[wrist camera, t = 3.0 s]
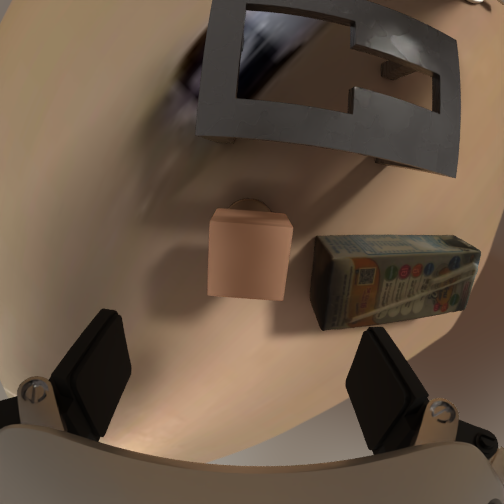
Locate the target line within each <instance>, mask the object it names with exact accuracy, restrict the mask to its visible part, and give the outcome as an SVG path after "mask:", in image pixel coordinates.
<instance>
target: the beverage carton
mask: <svg viewBox="0 0 504 504" xmlns="http://www.w3.org/2000/svg"><path fill="white" fill-rule="evenodd" d="M480 256H481V251H480V250H478V249H477V248H475V247H473V246H472V245H470V244H468V243H467V242H465V241H463V240H462V239H459V238H458V237H456V236H454V235H337V236H333V235H330V236H316V238H315V247H314V260H313V270H312V278H311V289H310V301H311V304H312V307H313V310H314V313H315V315H316V318H317V321H318V323H319V326H320V328H321V330H322V331H324V330H330V329H345V328H354V327H362V326H371V325H379V324H385V323H392V322H398V321H404V320H411V319H417V318H423V317H429V316H434V315H440V314H444V313H448V312H456V311H462V310H464V309H465V307H466V305H467V302H468V299H469V296H470V292H471V289H472V286H473V282H474V279H475V276H476V274H477V271H478V265H479V261H480Z"/></svg>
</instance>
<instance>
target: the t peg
mask: <svg viewBox="0 0 504 504" xmlns="http://www.w3.org/2000/svg"><path fill="white" fill-rule="evenodd" d="M292 234H293V226H292V225H291V223H290V221H289V219H288V218H287V216H286V214H283V213H272V212H271V211H270V210H269V208H268V207H267V206H266V205H265V204H264V203H262V202H261V201H258V200H255V199H242V200H239V201H237V202H235V203H234V204H232V205H231V206H230V207H229V209H221V208H217V209H216V211H215V213H214V215H213V216H212V218H211V220H210V227H209V253H208V295H210V296H221V297H234V298H247V299H262V300H279V301H283V297H284V290H285V284H286V277H287V270H288V263H289V256H290V249H291V241H292Z"/></svg>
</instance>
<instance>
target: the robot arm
mask: <svg viewBox="0 0 504 504" xmlns="http://www.w3.org/2000/svg"><path fill="white" fill-rule="evenodd" d="M467 1H469V2H471V3H480V2H483V1H484V0H467ZM497 1H499V2H500V3H501V4H502V5H504V0H497ZM130 375H131V363H130V358H129V354H128V349H127V344H126V339H125V334H124V328H123V322H122V317H121V315H118V313H117V311H115V310H109V309H101V310H100V312H99V313H98V314H97V315H96V316H95V318H94V319H93V320H92V321H91V323H90V324H89V325H88V326H87V328H86V329H85V330H84V332H83V333H82V334H81V335H80V337H79V338H78V339H77V341H76V342H75V343H74V344H73V346H72V347H71V348H70V350H69V351H68V352H67V354H66V355H65V356H64V358H63V359H62V360H61V362H60V363H59V365H58V366H57V367H56V369H55V370H54V372H53V373H52V374H51V377H50V379H49V380H47V379H46V378H44V377H39V376H35V377H30V378H27V379H26V380H24V381H23V382H22V383H21V384H20V385H19V388H18V390H17V396H16V397H13V398H9V399H5V400H2V401H0V504H504V448H503V447H502V446H501V447H500V448H498V442H497V439H496V437H495V435H494V434H492V433H491V432H490V431H488V430H485V429H482V428H480V427H476V426H474V425H471V424H469V423H466V422H464V421H461V420H459V412H458V409H457V408H456V406H455V405H454V404H453V403H452V402H450V401H448V400H446V399H443V398H435V399H433V400H431V401H430V402H429V400H428V398H427V397H428V396H429V395H428V393H427V391H426V390H425V388H424V387H423V385H422V383H421V382H420V380H419V379H418V377H417V376H416V374H415V373H414V371H413V370H412V368H411V367H410V365H409V364H408V362H407V361H406V359H405V358H404V356H403V355H402V353H401V352H400V350H399V349H398V347H397V346H396V344H395V343H394V342H393V340H392V339H391V337H390V336H389V334H388V333H387V332H386V330H385V329H384V328H383V327H369V328H368V329H367V331H364V332H363V335H362V338H361V341H360V344H359V346H358V349H357V352H356V355H355V358H354V360H353V363H352V366H351V368H350V371H349V373H348V376H347V378H346V389H347V392H348V394H349V397H350V400H351V402H352V405H353V408H354V410H355V413H356V416H357V418H358V421H359V424H360V427H361V429H362V432H363V435H364V438H365V441H366V443H367V446H368V449H369V450H372V451H373V454H374V455H372V456H366V457H361V458H355V459H349V460H343V461H336V462H327V463H318V464H308V465H293V466H231V465H217V464H206V463H197V462H188V461H181V460H175V459H168V458H163V457H157V456H152V455H147V454H143V453H138V452H134V451H130V450H126V449H122V448H118V447H114V446H110V445H107V444H103V443H100V442H98V441H99V439H100V437H104V436H105V434H106V431H107V429H108V426H109V424H110V421H111V419H112V417H113V414H114V412H115V409H116V407H117V405H118V402H119V400H120V398H121V396H122V393H123V391H124V389H125V386H126V384H127V382H128V380H129V377H130Z"/></svg>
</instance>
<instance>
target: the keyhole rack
mask: <svg viewBox="0 0 504 504" xmlns="http://www.w3.org/2000/svg"><path fill="white" fill-rule="evenodd" d="M246 10H250V11H264V12H274V13H283V14H290V15H297V16H303V17H309V18H314V19H319V20H324V21H329V22H333V23H337V24H342V25H346V26H349V27H350V30H351V40H350V49H354V50H357V51H361V52H365V53H368V54H371V55H375V56H378V57H381V58H384V59H387V61H386V62H384V63H382V64H381V76H382V77H385V78H388V79H391V80H395V79H398V78H400V77H403V76H405V75H408V74H410V73H413V72H415V71H419V72H421V73H424V74H426V75H428V76H430V77H432V111H430V110H428V109H425V108H423V107H420V106H417V105H415V104H412V103H409V102H406V101H403V100H400V99H397V98H394V97H391V96H388V95H384V94H381V93H378V92H374V91H371V90H367V89H363V88H359V87H355V86H354V87H353V88H351V89H349V99H348V113H342V112H338V111H332V110H327V109H322V108H316V107H310V106H303V105H296V104H289V103H281V102H272V101H262V100H250V99H236V98H237V88H238V78H239V68H240V59H241V51H243V44H244V25H245V17H246ZM460 120H461V91H460V71H459V59H458V49H457V41H456V40H455V39H453V38H451V37H450V36H448V35H446V34H444V33H442V32H440V31H439V30H437V29H435V28H433V27H431V26H429V25H427V24H425V23H422V22H420V21H418V20H416V19H414V18H412V17H409V16H407V15H405V14H402V13H400V12H397V11H395V10H392V9H390V8H387V7H384V6H381V5H379V4H376V3H373V2H370V1H367V0H212V6H211V11H210V17H209V23H208V29H207V36H206V43H205V50H204V57H203V64H202V72H201V81H200V90H199V99H198V109H197V120H196V132H195V135H196V136H199V137H202V138H205V139H208V140H211V141H214V142H217V143H232V144H234V138H241V139H254V140H265V141H275V142H284V143H293V144H301V145H308V146H315V147H321V148H328V149H334V150H340V151H345V152H351V153H356V154H361V155H366V156H371V157H375V158H376V160H375V163H379V164H383V165H388V166H394V167H401V168H407V169H412V170H418V171H423V172H428V173H433V174H438V175H443V176H448V177H452V178H456V172H457V164H458V154H459V141H460Z"/></svg>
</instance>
